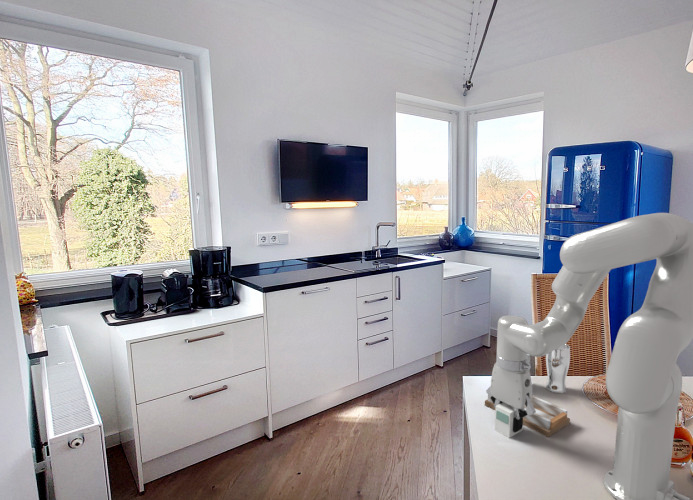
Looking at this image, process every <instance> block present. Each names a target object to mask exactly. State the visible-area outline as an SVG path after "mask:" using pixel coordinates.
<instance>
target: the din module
mask: <svg viewBox="0 0 693 500" xmlns="http://www.w3.org/2000/svg"><path fill="white" fill-rule="evenodd" d="M494 411H495V412H494V431H496V432H498V433H500V434H501V435H503V436H504V437H506V438H508V439H511V438H512V437H514V436H515V435H517V434H518V433H519V434H520V433H521V432H522V431H523V427H524V426H523V427H522V429H521V430H519V431H517V432H513V419H514V418H515V412H514V407H513V406H511V405H508V404H506V403H504V402H503V403H501V404H499V405H496V407H495V410H494ZM519 411H520V410H519Z"/></svg>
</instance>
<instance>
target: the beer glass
mask: <svg viewBox="0 0 693 500" xmlns="http://www.w3.org/2000/svg"><path fill="white" fill-rule="evenodd" d="M570 362H571V346H570V345H569V344H567V343H566V344H565V345H563V346H562V347H560V348H558V349H556V350H554V351H552V352H551V353H549V354H547V355H545V366H546V372H547V373H546V374H547V380H546V384H545V389H546V390H548V391H549V392H552V393H554V394H565V393H566V392H567V384H566V379H567V375H568V371H569V367H570Z"/></svg>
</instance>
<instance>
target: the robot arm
mask: <svg viewBox="0 0 693 500" xmlns="http://www.w3.org/2000/svg"><path fill="white" fill-rule="evenodd" d="M559 260H560V262H561V264H562V266H561V269H559V272H558V273H557V275H556V276H555V278H554V280H553V281H552V283H551V290H552V292H553V293H554V295H555V296H556V297H555V301H554V303H553V306H552V307H551V309H550V311H549V312H548V314H547V315H546V317H545V318H544V319H543V320H541V321H538V322H536V323H533V324H529V322H528V321H527V319H525V318H524V317H521V316H519V315H513V314H511V315H509V314H508V315H502V316H501V317H499V319H498V321H497V333H496V334H497V336H496V362H495V363H493V364H494V365H493V368H492V372H491V378H490V386H489V387H488V388H487V389H486V391H485V392H486V394H487V396H488V395H489V396H490V397H491V400H492V401H493V403H494V407H496V405H499V404H501V403H503V402H504V403H506V404H508V405H511V406H513V407H514V412H515V418H514V419H513V432H517V431H519V430H521V429H522V427H524V425H523V417H525V416H527V415H531V414H534V413H536V410H535V408H534V406H533V404H532V395H533V385H532V383H533V382H532V377H531V369H532V368H531V367H532V366H531V364H530V365H529V364H528V363H527V354H529V355H531V356H530V357H533V358H534V357H535V358H541V357H544V356H545V357H546V355H547V354H549V353H551V352H552V351H554V350H556V349H558V348H560V347H562V346H563V345H565V344H567V343H568V342H569V341H570V340H571V338H572V337H573V336H574V334H575V332H576V331H577V329H578V328H579V326H580V325H581V324H582V321H583V320H584V317H585V315H586V313H587V310H588V308H589V307H588V306H589V303H590V301H591V300H592V298H593V297H594V295H595V294H596V293H597V292H598V291H597V290H599V288H600V287H601V285H602V283H603V282H604V280H606V278H607V275H608V274H609V273H610V272H611V271H612V270H614V269H617V268H621V267H626V266H630V265H635V264H641V263H645V262H649V261H652V260H656V264H655V267H654V270H653V273H652V275H651V277H650V280H649V282H648V288H647V291H646V295H645V298H644V300H643V303H642V305H641V307H640V308H639V309H638V310H637V311H635V312H634V313H632V314H631V315H629V316H628V317H626V319H624V321H623V322H622V324H621V326H620V327H619V329H618V331H617V335H616V338H615V342H614V346H613V349H612V351H611V356H610V359H609V363H608V366H607V371H606V374H605V387H606V388H605V389H606V392H607V394H608V395H609V397H610V399H611V400H612V402H614V404H615V405H616V406H617V407H618V411H617V421H616V431H615V432H616V433H615V434H616V435H615V447H614V457H613V459H614V460H613V469H610V470H609V471H606V473H605V474H604V477H603V483H604V486H605V489H606V490H607V491H608V493H609V494H610V496H612V497H614V498H615V499H616V500H691V498H690V497H688V496H686V495H685V494H684V495H683V494H681V493H678V492H677V490H676V489H674V485H675V482H674V481H672V480H671V479H670V473H671V466H672V465H671V464H672V458H673V457H672V456H673V448H674V447H673V446H674V445H673V444H674V435H675V428H676V420H677V419H676V418H677V415H678V414H677V413H678V408H679V403H680V398H681V393H682V388H683V374H682V371H681V369H680V367H679V365H678V364H677V361H678V358H679V355H680V354H681V353H682V352H683V351H684V350H685V349H686V348H687V347H688V346H689V345H690V344H691V342H692V341H693V222H692V221H690V220H688V219H687V218H684V217H682V216H681V215H678V214H675V213H670V212H656V213H649V214H642V215H637V216H636V215H635V216H633V217H628V218H626V219H622V220H619V221H617V222H612V223H610V224H606V225H603V226H600V227H597V228H594V229H591V230H587V231H583V232H581V233H580V232H579V233H576V234H574V235H573V234H572V235H571V236H569V237H568V238H567V239H566V240H565V241H564V242H563V243H562V245H561V247H560V251H559ZM529 370H530V371H529ZM524 405H526V407H527V410H525V409H524ZM519 410H520V411H519Z"/></svg>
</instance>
